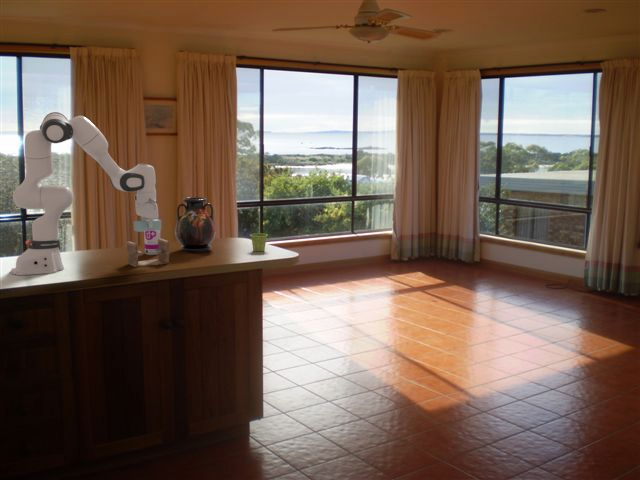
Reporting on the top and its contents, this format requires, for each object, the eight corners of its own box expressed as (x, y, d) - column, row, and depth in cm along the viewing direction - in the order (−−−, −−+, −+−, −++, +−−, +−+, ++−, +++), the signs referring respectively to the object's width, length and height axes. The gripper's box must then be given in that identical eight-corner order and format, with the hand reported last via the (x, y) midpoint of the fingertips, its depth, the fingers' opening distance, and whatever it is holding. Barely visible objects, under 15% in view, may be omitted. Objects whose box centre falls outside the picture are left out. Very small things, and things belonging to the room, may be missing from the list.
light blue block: (161, 229, 333) (161, 220, 333) (138, 231, 325) (138, 222, 325) (156, 228, 337) (156, 219, 336) (133, 230, 329) (133, 221, 328)
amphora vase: (176, 254, 358) (174, 200, 354) (174, 247, 379) (173, 196, 374) (217, 253, 363) (217, 200, 359) (214, 246, 384) (213, 196, 379)
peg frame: (134, 267, 326) (134, 244, 324) (128, 264, 333) (127, 241, 331) (169, 263, 335) (168, 241, 334) (161, 260, 343) (161, 238, 341)
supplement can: (157, 255, 355) (156, 226, 353) (142, 254, 357) (141, 226, 355) (163, 252, 363) (162, 224, 361) (149, 252, 365) (148, 223, 363)
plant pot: (271, 250, 373) (271, 234, 372) (260, 252, 366) (260, 236, 364) (257, 248, 378) (257, 232, 377) (246, 251, 371) (246, 235, 369)
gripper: (161, 199, 322) (162, 229, 324) (145, 195, 338) (146, 223, 341) (148, 200, 318) (149, 230, 321) (132, 196, 335) (133, 224, 337)
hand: (147, 226), depth 331 cm, fingers closed on light blue block, 5 cm apart
